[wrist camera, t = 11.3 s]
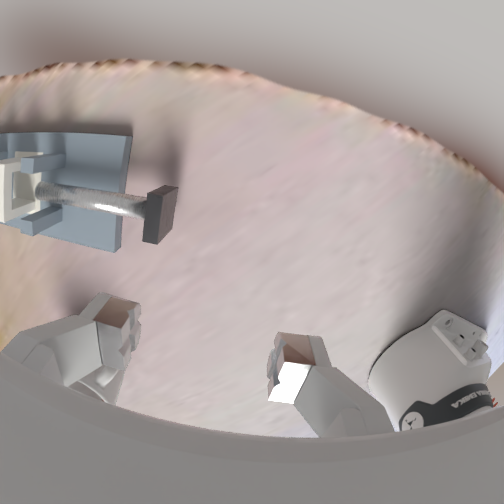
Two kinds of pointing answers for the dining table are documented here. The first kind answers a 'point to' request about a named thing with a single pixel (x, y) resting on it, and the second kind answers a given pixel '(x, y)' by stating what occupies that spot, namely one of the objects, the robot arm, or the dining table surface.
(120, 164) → the block
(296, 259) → the dining table surface
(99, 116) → the dining table surface
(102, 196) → the shaft
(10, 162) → the bracket
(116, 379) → the cup
